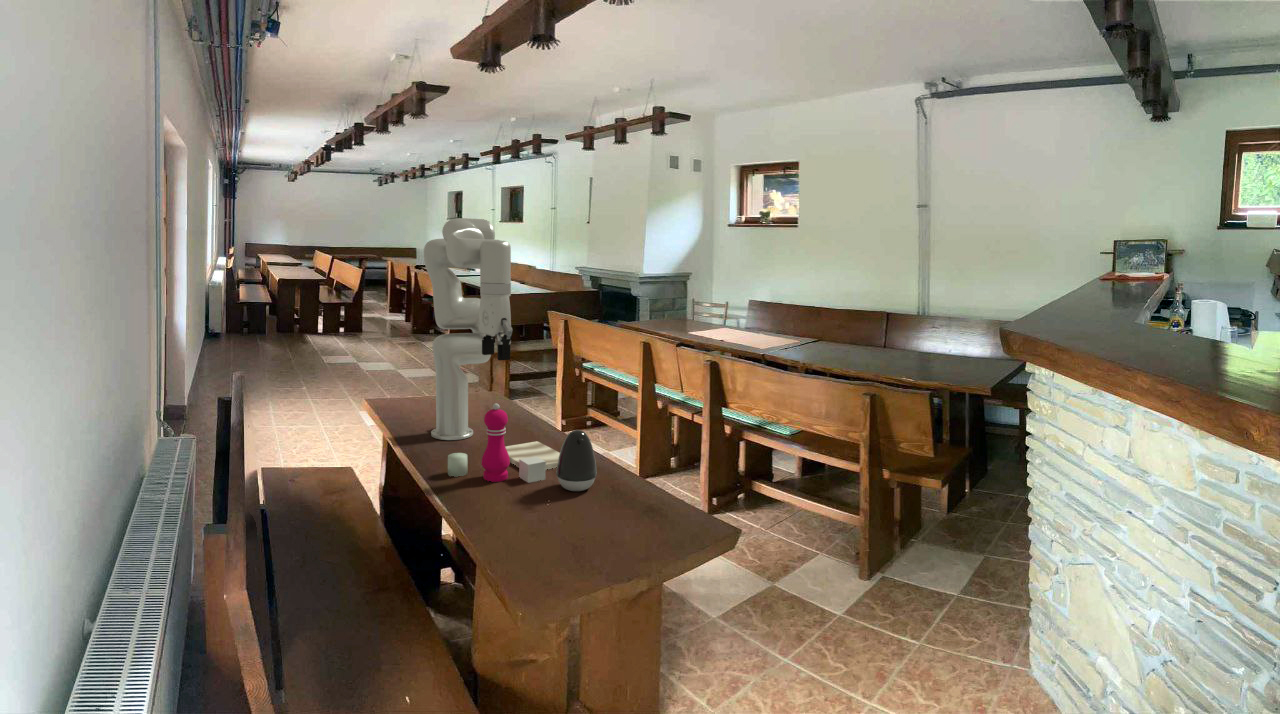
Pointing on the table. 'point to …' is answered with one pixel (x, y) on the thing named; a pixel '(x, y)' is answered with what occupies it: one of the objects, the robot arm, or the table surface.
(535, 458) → the grey block
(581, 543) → the table surface
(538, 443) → the ash board
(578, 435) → the dark grey egg shape
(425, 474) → the table surface
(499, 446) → the pepper mill
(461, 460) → the sage cylinder
